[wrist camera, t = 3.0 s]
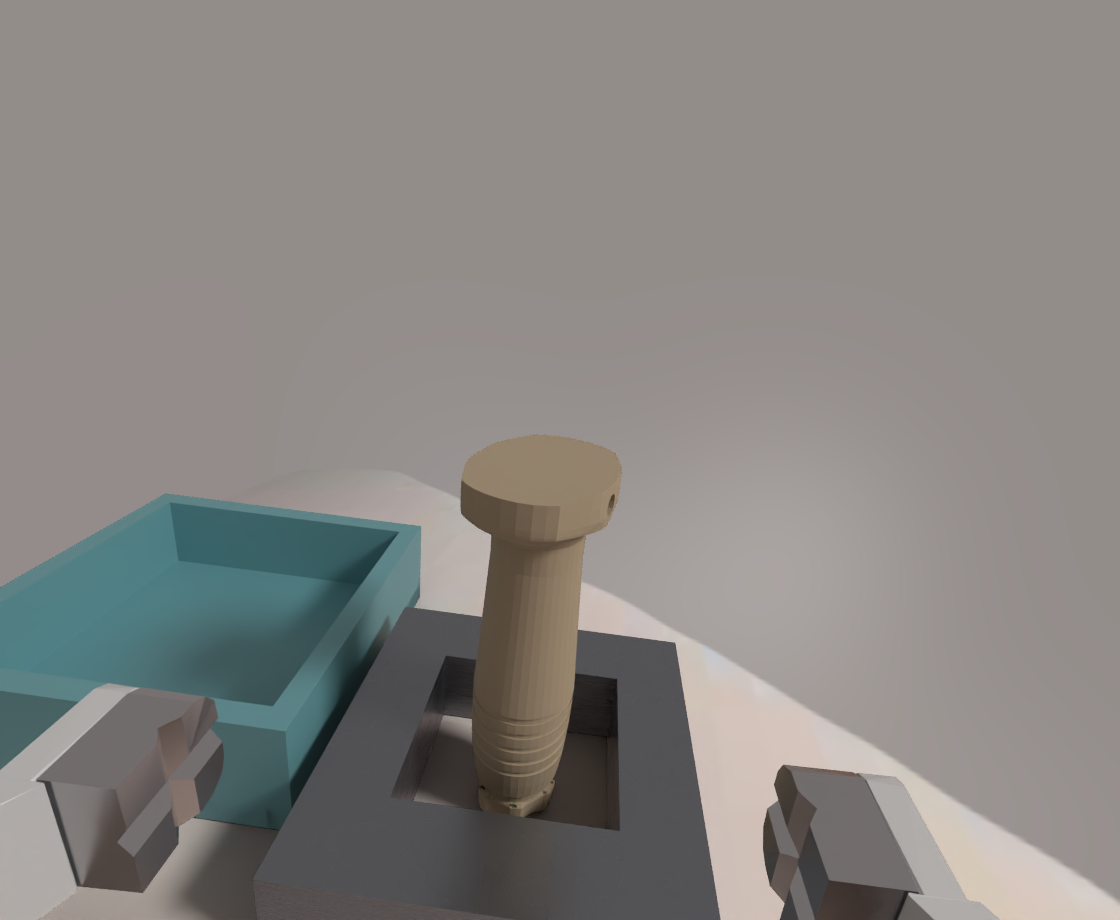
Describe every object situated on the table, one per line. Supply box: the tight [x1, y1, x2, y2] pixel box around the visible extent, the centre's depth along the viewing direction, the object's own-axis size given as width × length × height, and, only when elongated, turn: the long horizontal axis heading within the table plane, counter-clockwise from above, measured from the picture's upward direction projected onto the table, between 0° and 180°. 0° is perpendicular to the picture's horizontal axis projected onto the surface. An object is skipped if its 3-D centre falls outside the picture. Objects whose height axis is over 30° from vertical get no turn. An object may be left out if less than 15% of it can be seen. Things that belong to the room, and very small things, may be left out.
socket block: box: [252, 607, 720, 920], centre depth 24 cm, size 14×14×4 cm
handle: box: [461, 435, 622, 817], centre depth 22 cm, size 5×6×15 cm
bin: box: [0, 494, 421, 830], centre depth 29 cm, size 16×16×5 cm
